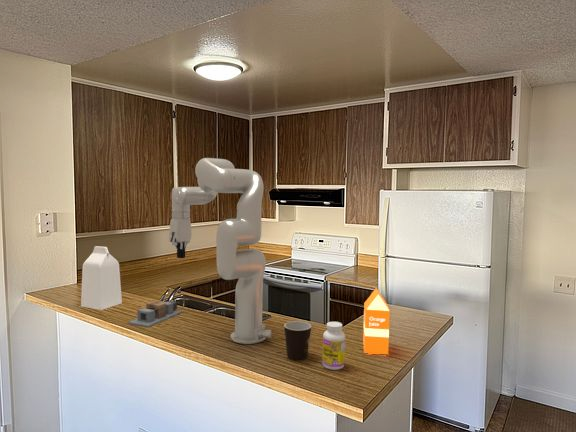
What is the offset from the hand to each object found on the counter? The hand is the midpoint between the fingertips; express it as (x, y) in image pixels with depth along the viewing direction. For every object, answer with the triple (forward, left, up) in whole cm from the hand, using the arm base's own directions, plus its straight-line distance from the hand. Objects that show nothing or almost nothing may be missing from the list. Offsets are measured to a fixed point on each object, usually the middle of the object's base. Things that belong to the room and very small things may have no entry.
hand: (181, 257), depth 178 cm
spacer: (0, +16, -22) cm, 27 cm away
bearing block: (0, +16, -22) cm, 27 cm away
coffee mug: (-66, +25, -22) cm, 74 cm away
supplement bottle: (-78, +28, -22) cm, 86 cm away
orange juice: (-87, +10, -22) cm, 90 cm away
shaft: (0, +13, -21) cm, 25 cm away
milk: (+34, +12, -22) cm, 42 cm away
